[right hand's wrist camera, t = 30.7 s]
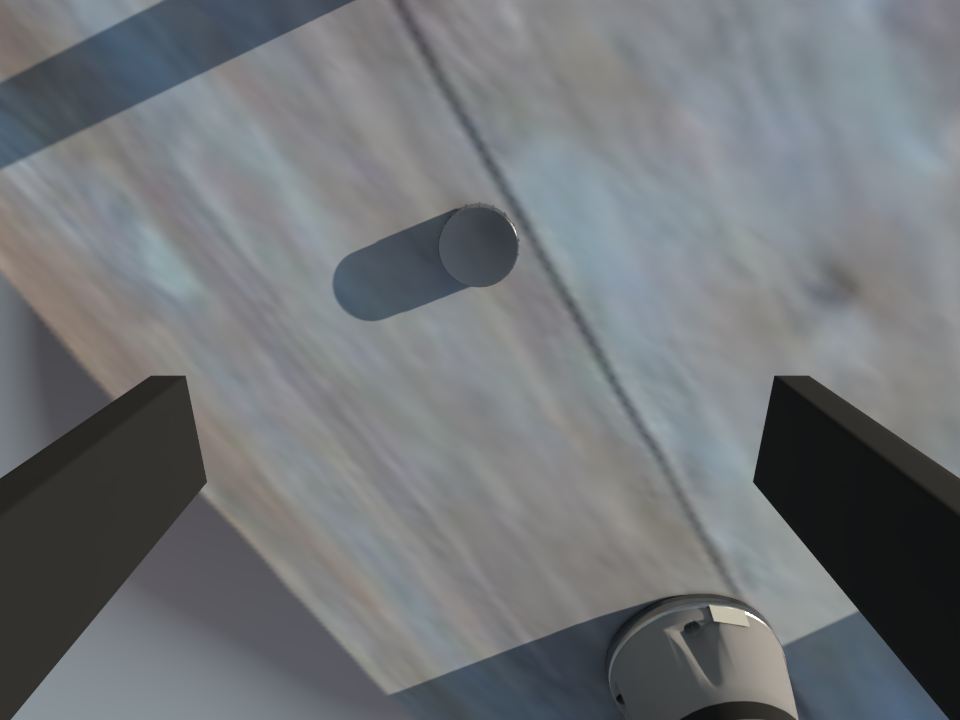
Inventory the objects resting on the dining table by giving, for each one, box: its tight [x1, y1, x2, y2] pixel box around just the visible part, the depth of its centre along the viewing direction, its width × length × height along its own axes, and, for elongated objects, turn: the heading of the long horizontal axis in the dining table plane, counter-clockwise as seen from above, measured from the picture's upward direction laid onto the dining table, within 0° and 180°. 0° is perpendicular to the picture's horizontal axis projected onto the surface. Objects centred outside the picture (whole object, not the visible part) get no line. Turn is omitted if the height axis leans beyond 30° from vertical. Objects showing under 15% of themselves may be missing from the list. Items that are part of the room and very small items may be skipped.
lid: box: [439, 202, 519, 287], centre depth 36 cm, size 5×5×2 cm
